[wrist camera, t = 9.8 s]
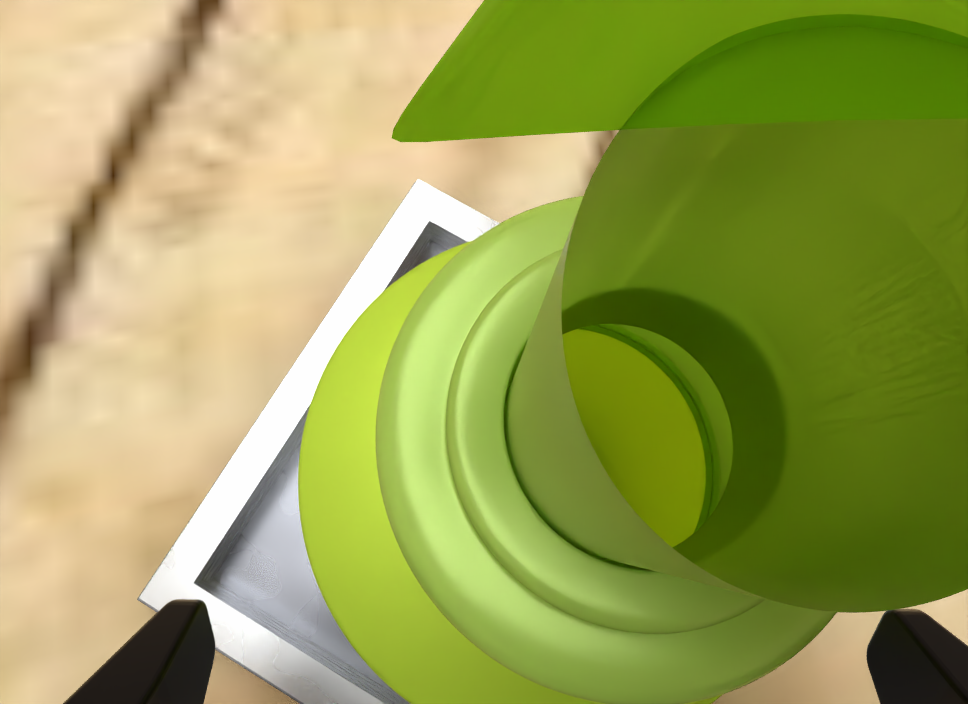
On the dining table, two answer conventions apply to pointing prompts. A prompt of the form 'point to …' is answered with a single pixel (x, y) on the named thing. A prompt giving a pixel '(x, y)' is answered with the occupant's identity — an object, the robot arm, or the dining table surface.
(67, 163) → the dining table surface
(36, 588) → the dining table surface
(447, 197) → the holder
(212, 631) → the robot arm
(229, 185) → the dining table surface
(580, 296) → the soap dispenser
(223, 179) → the dining table surface
